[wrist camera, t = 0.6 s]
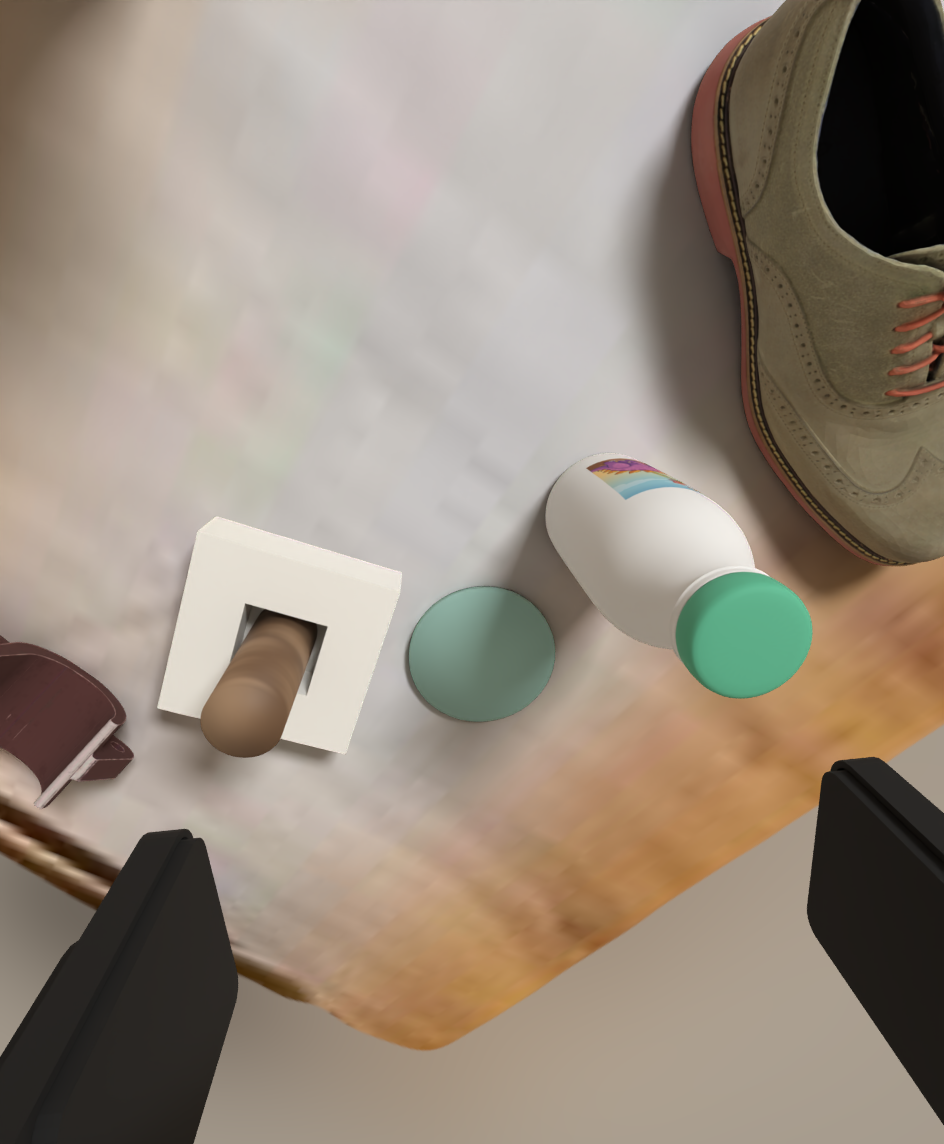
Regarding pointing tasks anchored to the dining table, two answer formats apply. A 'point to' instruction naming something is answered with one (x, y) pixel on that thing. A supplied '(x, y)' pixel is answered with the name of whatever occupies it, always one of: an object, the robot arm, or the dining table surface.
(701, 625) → the milk bottle
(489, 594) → the felt pad
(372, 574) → the pocket block
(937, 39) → the oxford shoe
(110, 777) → the bracket
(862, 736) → the dining table surface
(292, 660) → the walnut dowel
